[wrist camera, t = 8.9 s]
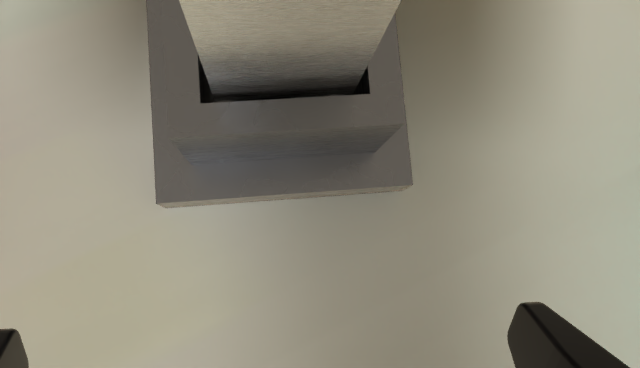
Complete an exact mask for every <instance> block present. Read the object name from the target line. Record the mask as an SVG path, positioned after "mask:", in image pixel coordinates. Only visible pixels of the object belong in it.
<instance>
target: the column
mask: <svg viewBox="0 0 640 368" xmlns="http://www.w3.org/2000/svg"><path fill="white" fill-rule="evenodd" d="M179 2H180V5H181V7H182V10H183V13H184V16H185V19H186V21H187V24H188V27H189V30H190V33H191V35H192V38H193V41H194V44H195V47H196V49H197V52H198V55H199V58H200V61H201V64H202V66H203V69H204V72H205V75H206V78H207V80H208V83H209V86H210V89H211V92H212V94H213V97H214V100H215V101H224V100H242V99H260V98H278V97H296V96H314V95H332V94H350V93H354V91H355V89H356V87H357V85H358V83H359V81H360V79H361V77H362V75H363V73H364V71H365V69H366V68H367V66H368V64H369V62H370V60H371V58H372V56H373V54H374V52H375V50H376V48H377V46H378V44H379V42H380V40H381V38H382V37H383V35H384V33H385V31H386V29H387V27H388V25H389V23H390V21H391V19H392V17H393V15H394V13H395V11H396V9H397V8H398V6H399V4H400V2H401V0H179Z"/></svg>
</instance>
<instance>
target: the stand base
mask: <svg viewBox="0 0 640 368" xmlns="http://www.w3.org/2000/svg"><path fill="white" fill-rule="evenodd" d="M146 2H147V22H148V43H149V64H150V85H151V106H152V127H153V148H154V168H155V189H156V204H158V205H160V206H162V207H165V208H173V207H187V206H200V205H214V204H228V203H241V202H255V201H268V200H282V199H296V198H309V197H323V196H336V195H350V194H363V193H377V192H391V191H402V190H404V189H406V188H408V187H410V186H412V185H413V182H412V172H411V163H410V153H409V143H408V133H407V124H406V114H405V104H404V95H403V85H402V75H401V66H400V56H399V46H398V37H397V27H396V17H395V13H394V15H393V17H392V19H391V21H390V23H389V25H388V27H387V29H386V31H385V33H384V35H383V37H382V38H381V40H380V42H379V44H378V46H377V48H376V50H375V52H374V54H373V56H372V58H371V60H370V62H369V64H368V66H367V68H366V69H365V71H364V73H363V75H362V77H361V79H360V81H359V83H358V85H357V87H356V89H355V91H354V93H350V94H332V95H314V96H296V97H278V98H260V99H242V100H224V101H215V100H214V97H213V94H212V92H211V89H210V86H209V83H208V80H207V78H206V75H205V72H204V69H203V66H202V64H201V61H200V58H199V55H198V52H197V49H196V47H195V44H194V41H193V38H192V35H191V33H190V30H189V27H188V24H187V21H186V19H185V16H184V13H183V10H182V7H181V5H180V2H179V0H146Z"/></svg>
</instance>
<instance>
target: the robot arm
mask: <svg viewBox="0 0 640 368" xmlns="http://www.w3.org/2000/svg"><path fill="white" fill-rule="evenodd" d="M507 336H508V344H509V348H510V351H511V354H512V357H513V361H514V364H515V367H516V368H630V367H628V366H627V365H626V364H624V363H623V362H622V361H620V360H619V359H618V358H616V357H615V356H614V355H612V354H611V353H609V352H608V351H607V350H605V349H604V348H603V347H601V346H600V345H599V344H597V343H596V342H595V341H593V340H592V339H591V338H589V337H588V336H587V335H585V334H584V333H583V332H581V331H580V330H579V329H577V328H576V327H574V326H573V325H572V324H570V323H569V322H568V321H566V320H565V319H564V318H562V317H561V316H560V315H558V314H557V313H556V312H554V311H553V310H552V309H550V308H549V307H548V306H546V305H545V304H543V303H541V302H526V303H521V304H520V305H519V306H518V307H517V309H516V312H515V314H514V317H513V319H512V322H511V325H510V327H509V330H508V335H507ZM0 368H29V364H28V358H27V355H26V352H25V349H24V346H23V343H22V340H21V337H20V334H19V332H18V331H17V330H16V329H0Z"/></svg>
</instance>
